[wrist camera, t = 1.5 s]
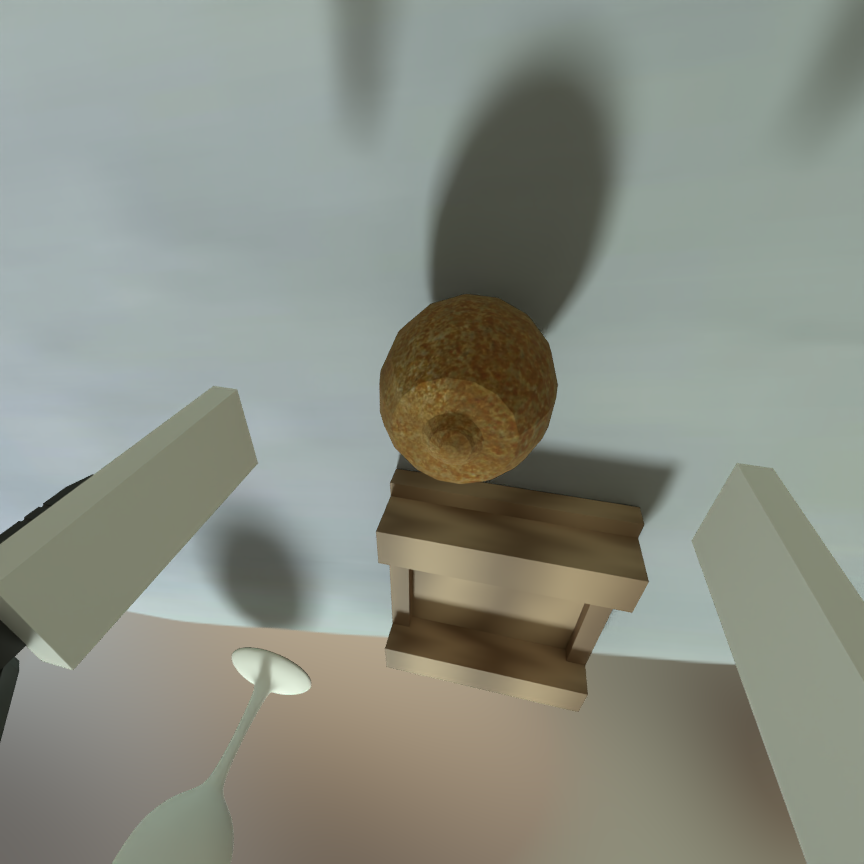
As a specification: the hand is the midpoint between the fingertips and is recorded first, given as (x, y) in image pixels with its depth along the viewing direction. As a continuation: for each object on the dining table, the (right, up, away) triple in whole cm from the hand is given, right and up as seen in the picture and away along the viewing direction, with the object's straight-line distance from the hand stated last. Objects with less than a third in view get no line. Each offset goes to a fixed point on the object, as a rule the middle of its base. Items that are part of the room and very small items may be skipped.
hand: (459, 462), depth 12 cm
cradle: (+3, -9, +16) cm, 18 cm away
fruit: (+1, +5, +7) cm, 9 cm away
